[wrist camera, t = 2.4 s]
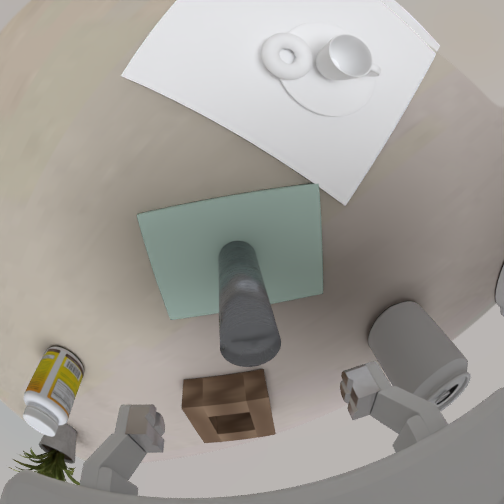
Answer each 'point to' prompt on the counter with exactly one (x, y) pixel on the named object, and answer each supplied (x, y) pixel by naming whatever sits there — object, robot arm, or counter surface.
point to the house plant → (56, 454)
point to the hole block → (229, 406)
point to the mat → (236, 229)
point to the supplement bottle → (52, 390)
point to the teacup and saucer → (293, 76)
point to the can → (418, 354)
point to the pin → (244, 308)
